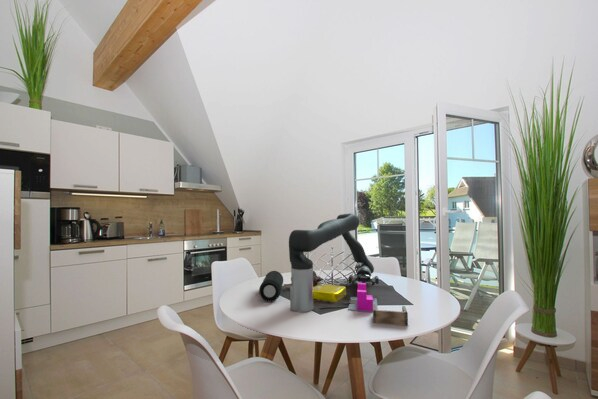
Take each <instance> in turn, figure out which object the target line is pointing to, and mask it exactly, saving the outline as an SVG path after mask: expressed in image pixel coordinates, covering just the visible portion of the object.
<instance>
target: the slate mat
mask: <svg viewBox="0 0 598 399" xmlns="http://www.w3.org/2000/svg"><path fill="white" fill-rule="evenodd" d="M350 299H351V300H357V296H350V298H349V300H350ZM373 304H375V305H376V310H379V308H378V299H377V297H373ZM347 311H354V312H355V311H356V312H370V313H373V311H365V310H358V309H357V304H348V308H347Z"/></svg>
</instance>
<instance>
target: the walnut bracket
mask: <svg viewBox="0 0 598 399" xmlns="http://www.w3.org/2000/svg"><path fill="white" fill-rule="evenodd" d="M401 307H402V308H401V309H402V310H399V311H398V310H387V309H386V310H383V309H378V310H376V305H375V304H373V312H372V322H373V323H374V324H382V325H383V324H384V325H395V326H396V325H397V326H409V320H408V318H409V317H408V315H409V314H408V310H407V307H406V305H401Z"/></svg>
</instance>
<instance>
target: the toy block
mask: <svg viewBox="0 0 598 399" xmlns="http://www.w3.org/2000/svg"><path fill="white" fill-rule="evenodd" d="M356 291H357V292H356V293H357V294H356V297H357V309H358V310H365V311H364V312H367V311H373V298H374V297H373V295H372V294H367V284H366V283H357V290H356Z"/></svg>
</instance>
